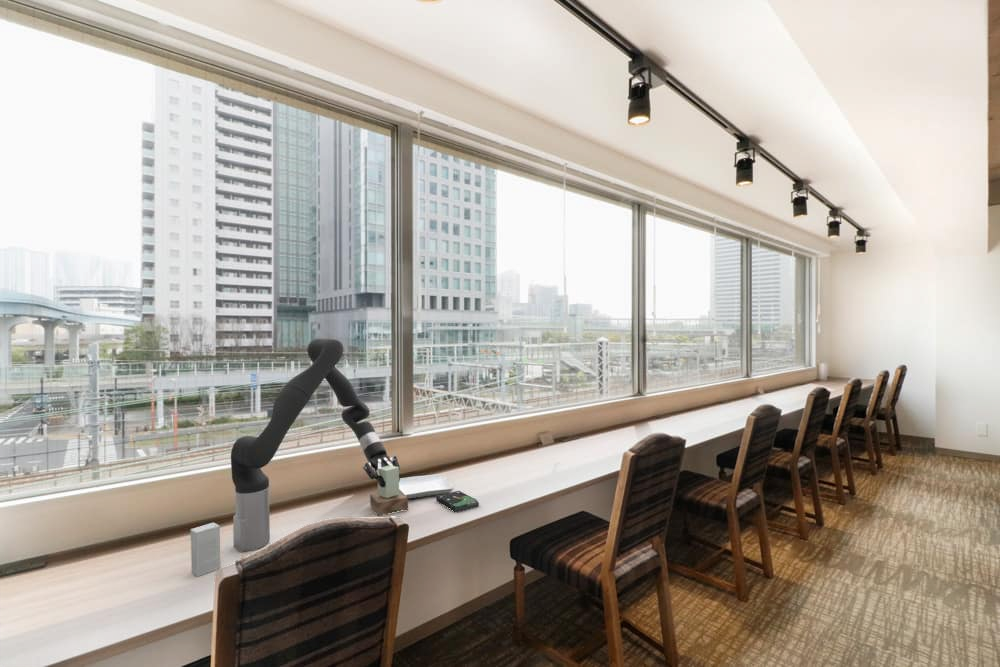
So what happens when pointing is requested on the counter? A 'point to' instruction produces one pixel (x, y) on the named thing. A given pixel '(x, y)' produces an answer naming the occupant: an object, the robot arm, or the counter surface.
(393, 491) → the sage block
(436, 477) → the salad plate
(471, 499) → the disk drive
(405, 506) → the walnut block
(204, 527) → the skincare box
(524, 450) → the counter surface
